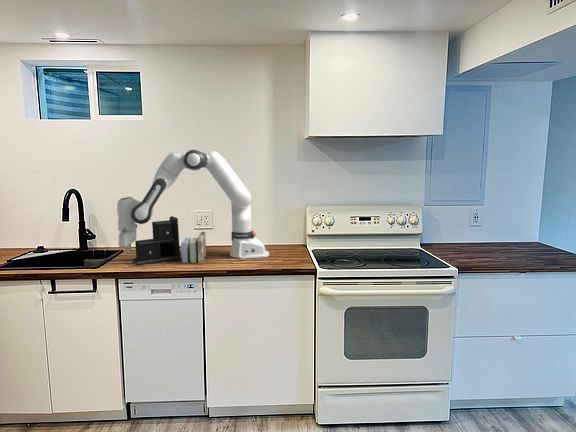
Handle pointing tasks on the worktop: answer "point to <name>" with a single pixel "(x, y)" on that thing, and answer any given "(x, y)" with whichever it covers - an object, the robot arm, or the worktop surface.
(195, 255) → the book
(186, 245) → the book
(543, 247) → the worktop surface
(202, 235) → the end board
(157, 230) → the black stepped block
